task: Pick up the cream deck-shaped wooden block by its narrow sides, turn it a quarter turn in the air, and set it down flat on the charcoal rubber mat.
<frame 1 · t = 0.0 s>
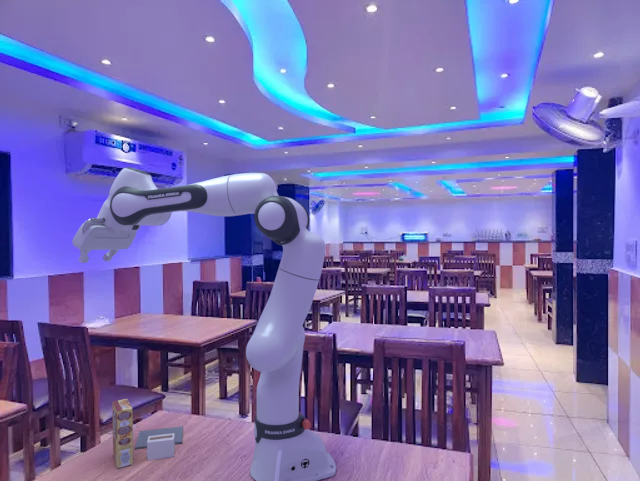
hand: (94, 261, 125), 54 cm above the table, tool tilted 30°, fingers open, 8 cm apart
mat: (160, 438, 131), on the table
candy box: (122, 460, 118), on the table
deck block: (161, 455, 120), on the table
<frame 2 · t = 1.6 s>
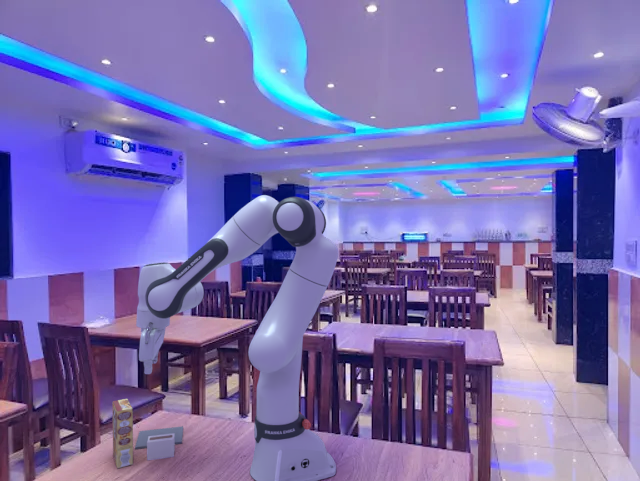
hand: (151, 367, 121), 24 cm above the table, tool pointing down, fingers open, 8 cm apart
nothing on the table moved.
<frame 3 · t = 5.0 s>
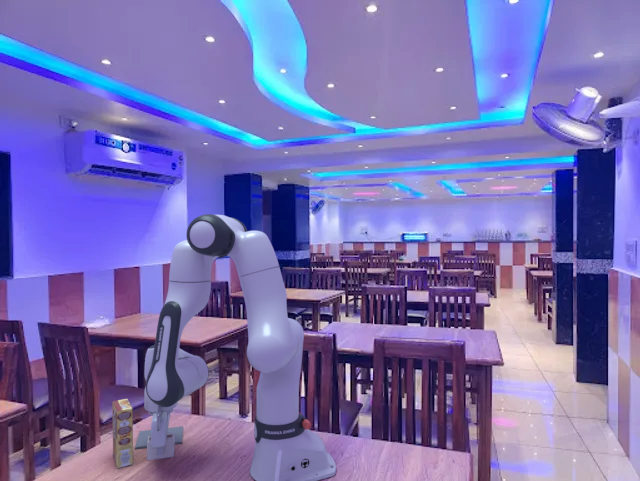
hand: (161, 449, 120), 2 cm above the table, tool pointing down, fingers closed on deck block, 4 cm apart
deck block: (161, 455, 120), on the table, touching gripper
everything else where it was.
when the fingers open (3 cm above the table, at t = 12.1 s): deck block stays where it is, resting on mat.
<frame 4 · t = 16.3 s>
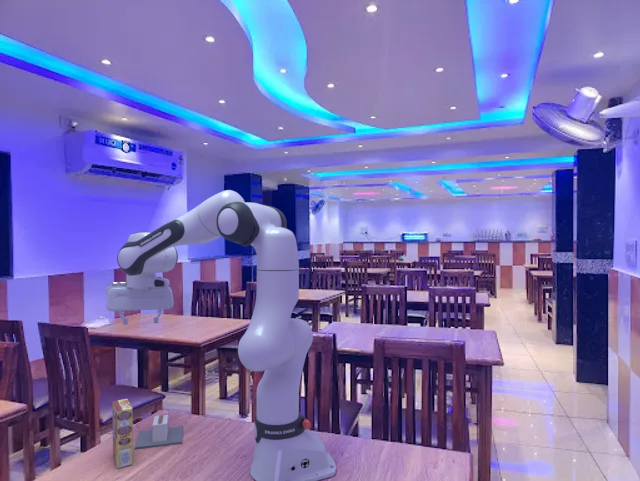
hand: (140, 323, 140), 33 cm above the table, tool pointing down, fingers open, 8 cm apart
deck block: (160, 436, 131), point 1 cm above the table, touching mat
everything else where it was.
at the end: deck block inside the target area on the mat (0.1 cm from its centre), point 0.6 cm above the mat's base; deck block tilted 0°; the gripper is holding nothing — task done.
